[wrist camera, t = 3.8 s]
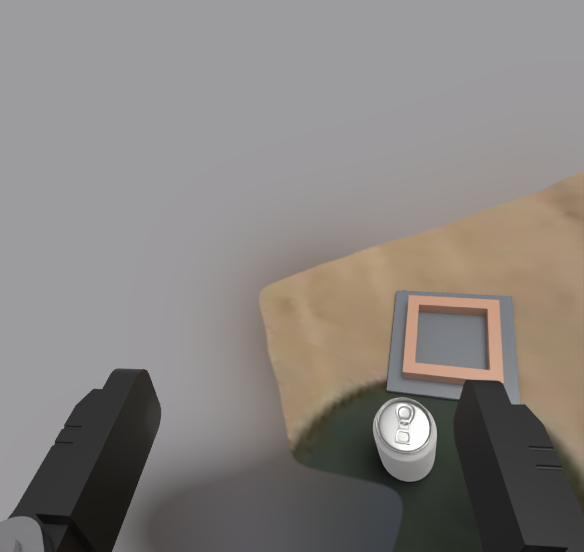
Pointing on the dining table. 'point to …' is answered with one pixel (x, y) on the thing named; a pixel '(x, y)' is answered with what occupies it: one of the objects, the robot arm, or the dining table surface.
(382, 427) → the can
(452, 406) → the dining table surface
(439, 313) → the tray
